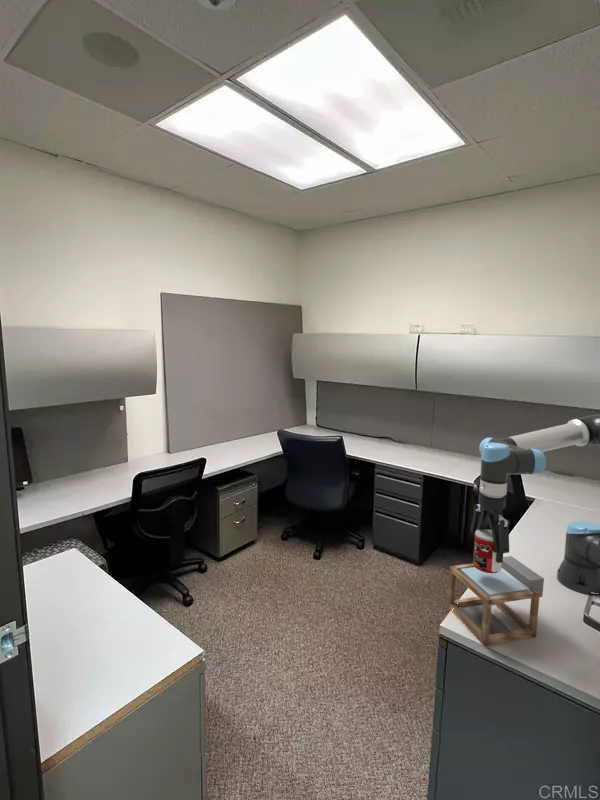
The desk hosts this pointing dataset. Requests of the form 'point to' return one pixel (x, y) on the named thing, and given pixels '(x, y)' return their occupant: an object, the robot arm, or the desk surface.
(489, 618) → the frame
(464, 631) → the desk surface
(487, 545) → the canned food
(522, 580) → the trapdoor
